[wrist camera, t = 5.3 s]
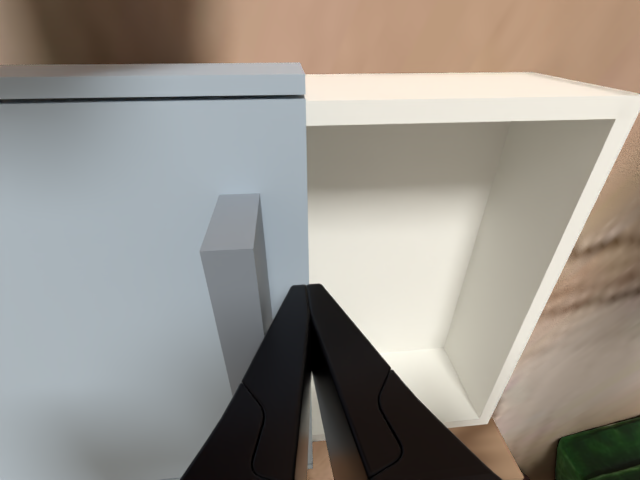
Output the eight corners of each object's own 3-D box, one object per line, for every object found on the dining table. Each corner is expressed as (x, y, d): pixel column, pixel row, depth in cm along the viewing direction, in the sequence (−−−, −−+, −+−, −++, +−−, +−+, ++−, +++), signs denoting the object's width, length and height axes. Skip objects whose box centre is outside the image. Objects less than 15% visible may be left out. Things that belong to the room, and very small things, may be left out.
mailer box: (531, 71, 13) (647, 95, 9) (448, 347, 22) (487, 424, 18) (190, 75, 12) (142, 103, 8) (243, 363, 21) (233, 449, 17)
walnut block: (474, 384, 25) (524, 477, 20) (459, 422, 27) (499, 512, 22) (407, 390, 24) (440, 487, 19) (398, 428, 27) (425, 522, 22)
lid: (299, 62, 9) (314, 95, 5) (309, 420, 19) (317, 532, 15) (-264, 66, 8) (-820, 113, 4) (48, 444, 18) (-23, 574, 13)
